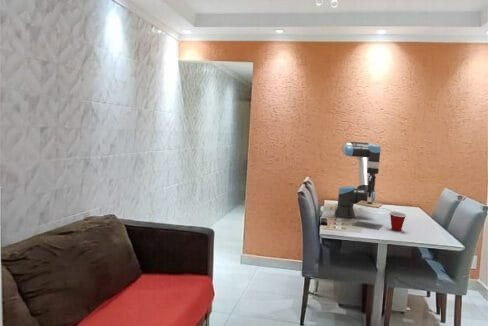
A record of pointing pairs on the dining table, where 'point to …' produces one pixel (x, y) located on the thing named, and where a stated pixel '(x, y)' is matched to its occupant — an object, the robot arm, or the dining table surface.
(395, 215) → the plastic cup
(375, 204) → the lid
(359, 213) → the dining table surface
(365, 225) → the mat
